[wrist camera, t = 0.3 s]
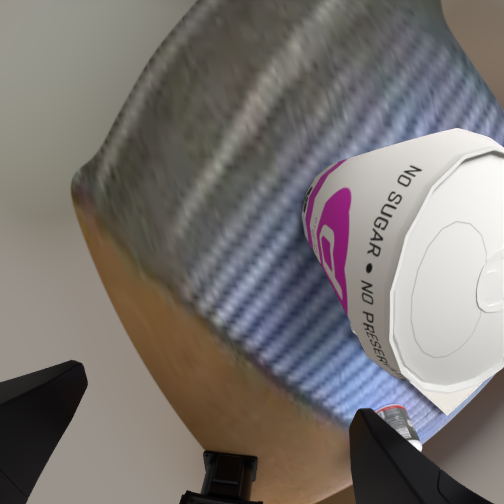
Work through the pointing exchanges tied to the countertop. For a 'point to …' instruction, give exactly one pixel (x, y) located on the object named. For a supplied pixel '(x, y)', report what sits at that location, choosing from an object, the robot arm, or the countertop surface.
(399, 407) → the pill bottle
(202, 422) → the countertop surface
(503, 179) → the supplement can
